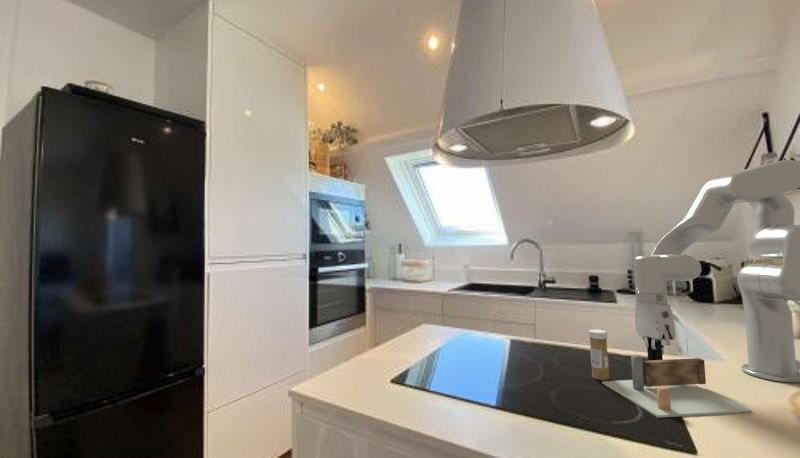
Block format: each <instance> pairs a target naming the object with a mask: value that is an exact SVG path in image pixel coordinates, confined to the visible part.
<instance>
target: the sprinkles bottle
mask: <svg viewBox="0 0 800 458" xmlns="http://www.w3.org/2000/svg"><path fill="white" fill-rule="evenodd" d="M588 335H589V342H590V343H589V345H590V365H591V376H592V378H593V379H595V380H599V381H609V380H610V377H611V376H610V374H609V373H610V371H609V356H608V345H607V343H608V340H607V339H608V333H607V331H606V330H604V329H603V330H602V329H590V330H588Z"/></svg>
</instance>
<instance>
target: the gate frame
mask: <svg viewBox="0 0 800 458" xmlns="http://www.w3.org/2000/svg"><path fill="white" fill-rule="evenodd" d="M630 359H631V372H632V373H631V377H632V379H627V380H626V379H624V380H601V381H602V382H601V383H602V384H603V385H604V386H606V387H608V388H610V389H611V390H613V391H614V392H615V393H618V394H620V395H621V396H622V397H624V398H625V399H627V400H629V401H630V402H632V403H633V404H635V405H637V406H638V407H640V408H641V409H643V410H645V411H647V412H648V413H650V414H651V415H653V416H654V417H656V418H659V419H660V418H675V417H694V416H709V415H710V416H711V415H713V416H714V415H730V414H729V413H733V414H743V413H742V412H751V413H753V410H752V409H750V408H748V407H745V406H743V405H740V404H738V403H736V402H735V401H732V400H730V399H727V398H725V397H722V396H721V395H718V394H716V393H713V392H711V391H709V390H707V389H704V388H703V387H700V386H697V384H689V385H669V386H652V387H646V386H644V381H643V365H642V361H643V356H642V355H639V354H631V355H630ZM740 412H741V413H740Z"/></svg>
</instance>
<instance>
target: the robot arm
mask: <svg viewBox="0 0 800 458" xmlns="http://www.w3.org/2000/svg"><path fill="white" fill-rule="evenodd" d="M799 188H800V162H799V161H797V160H792V159H782V160H778V161H774V162H770V163H766V164H765V163H764V164H761V165H757V166H753V167H748V168H746V169H743V170H740V171H739V172H735V173H731V174H726V175H721V176H718V177H715V178H712V179H709V180H708V181H707V182H706V183H705V184H704V185H703V186H702V188H701V190H700V191H699V193H698V195H697V196H696V197H695V199H694V201H693V203H692V205H691V207H690V208H689V210H688V212H687V213H686V215H685V217H684V218H683V219H682V221H680V222H679V223H678V224H677V225H675V226H674V227H673V228H672V229H671V230H670V231H669V232H666V234H665V235H664V236H663V237H662V238H661V239H660V240H659V242H658V243H657V244H656V246H655V247H654V250H653V251H652V253H651V254H650V255H638V256H636V257H634V259H633V271H634V287H635V300H636V301H635V310H634V325H635V330H636V332H637V333H638V336H639V337H640V338H641V339H643V341H644V344H645V347H646V348H647V351H646V352H647V361H650V360H664V358H663V350H664V349H665V346H671V345H672V344H671V340H675V339H676V329H675V321H674V316H673V312H672V309H671V306H670V304H668V303H669V302H668V290H667V288H668V287H667V286H668V285H667V281H669V280H670V281H671V280H672V281H678V282H679V281H681V282H687V281H691V280H695V279H697V277H699V276H700V275H701V272H702V265H701V263H700V262H699V260H698V259H696V258H695V257H693V256H691V255H687V254H683V253H684V251H686V250H687V249H688V248H690V247H691V246H692V245H694V244H696V243H698V242H700V241H703V240H705V239H708V238H709V237H711V236H713V235H715V234H717V233H718V232H719V231H720V229H721V227H722V225H724V222H725V221H726V218H727V217H728V215H729V213H730V212H731V210H732V209H733V207H734V205H736V204H737V205H738V204H743V203H749V205H750V208H751V210H752V211H751V212H752V216H751V217H752V218H751V225H750V233H749V239H748V249H749V252H750V253H751V255H753V256H755V257H756V258H760V259H765V260H781V261H782V264H780V263H763V262H762V263H761V262H760V263H757V262H756V263H751V264H747V265H745V266H744V267H742V268H741V269H739V271H738V273H737V277H736V280H737V285H738V289H739V291H740V294H741V297H742V302H743V311H744V323H745V333H746V334H745V335H746V337H745V338H746V349H747V359H748V361H747V362H748V363H744V364H742V365H741V370H742V372H744V373H746V374H748V375H750V376H752V377H757V378H760V379H764V380H768V381H775V382H781V383H800V360H797V359H796V358H797V357H796V347H795V336H794V325H793V323H794V322H793V321H794V320H793V315H792V314H793V313H792V310H791V307H790V306H789V304H788V302H787V301H792V302H793V301H794V302H800V224H795V214H796V213H795V212H796V211H795V207H794V204H793V203H792V202H791V200H790V199H789V198H788V197H787V196H786V195H785V194H784V193H788V192H791V191H795V190H797V189H799Z"/></svg>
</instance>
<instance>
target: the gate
mask: <svg viewBox="0 0 800 458" xmlns="http://www.w3.org/2000/svg"><path fill="white" fill-rule="evenodd" d="M642 365H643V381H644V386H646V387H652V386H669V385H689V384H693V385H707V382H706V380H707V378H706V368H705V367H706V365H705V359H702V358H699V357H697V358H694V357H693V358H679V359H678V358H677V359H673V358H672V359H663V360H650V361H648V360H642Z"/></svg>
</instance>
